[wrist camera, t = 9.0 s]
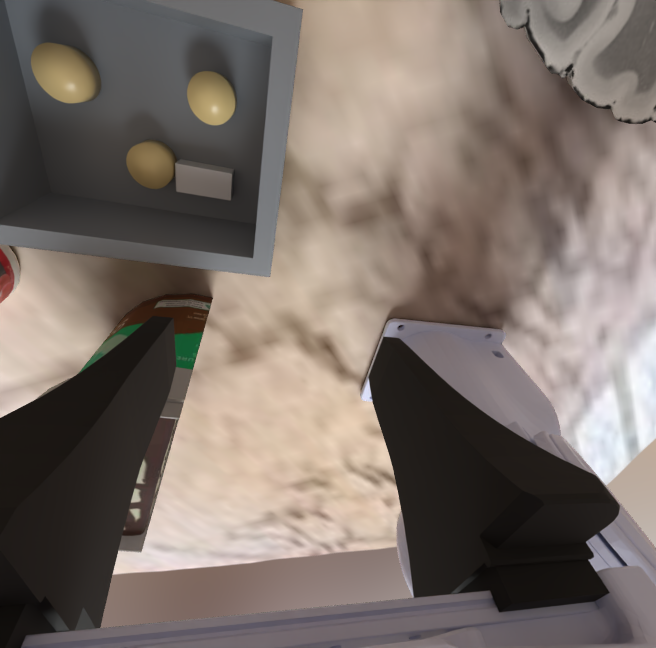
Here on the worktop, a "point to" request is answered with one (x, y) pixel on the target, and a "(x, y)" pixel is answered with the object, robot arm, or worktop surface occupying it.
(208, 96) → the tub
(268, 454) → the worktop surface
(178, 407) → the food container
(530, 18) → the brain slice
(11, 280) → the pill bottle
